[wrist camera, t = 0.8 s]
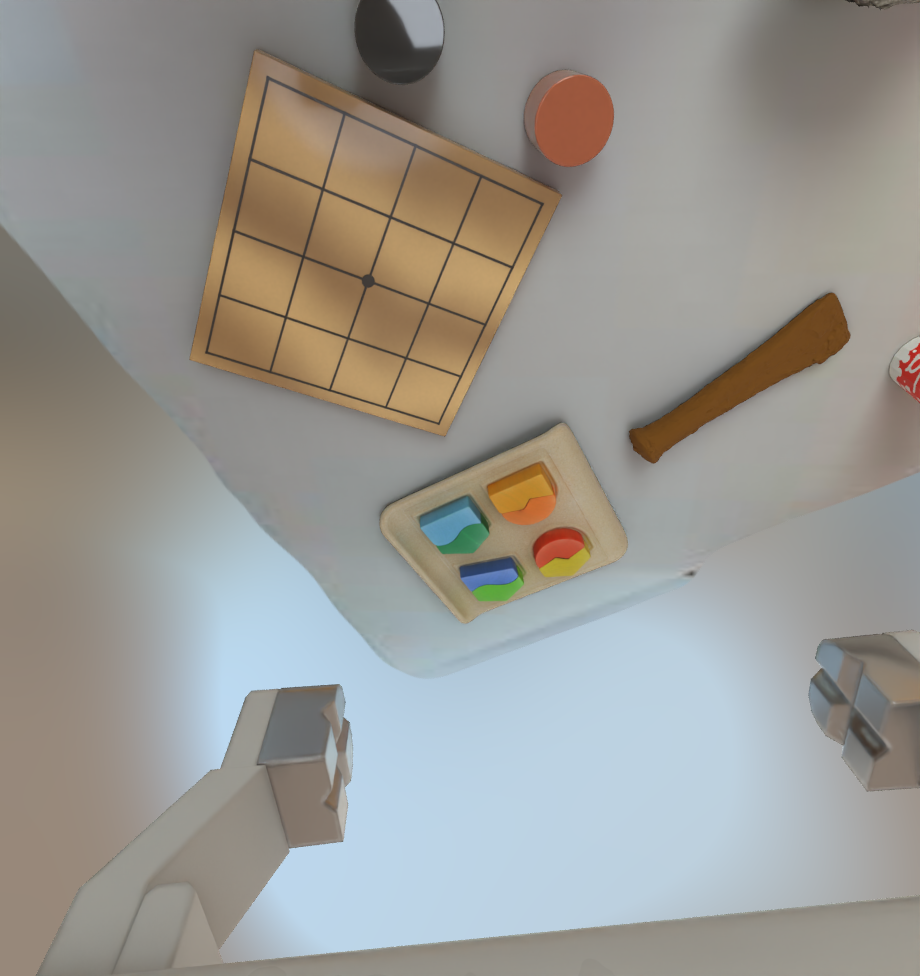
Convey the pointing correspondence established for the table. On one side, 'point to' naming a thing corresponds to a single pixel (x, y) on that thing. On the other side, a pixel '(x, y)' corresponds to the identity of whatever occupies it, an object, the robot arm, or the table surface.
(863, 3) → the concrete fragment
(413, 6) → the black stone
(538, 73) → the table surface
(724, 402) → the primitive tool
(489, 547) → the puzzle board
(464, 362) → the go board
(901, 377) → the beverage cup
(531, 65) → the table surface
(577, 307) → the table surface
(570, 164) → the clay cylinder
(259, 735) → the robot arm
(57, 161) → the table surface
